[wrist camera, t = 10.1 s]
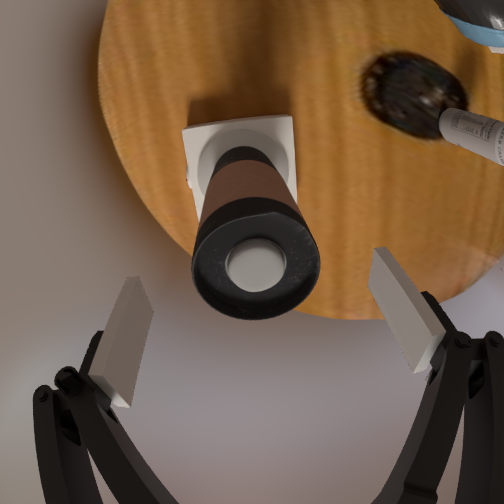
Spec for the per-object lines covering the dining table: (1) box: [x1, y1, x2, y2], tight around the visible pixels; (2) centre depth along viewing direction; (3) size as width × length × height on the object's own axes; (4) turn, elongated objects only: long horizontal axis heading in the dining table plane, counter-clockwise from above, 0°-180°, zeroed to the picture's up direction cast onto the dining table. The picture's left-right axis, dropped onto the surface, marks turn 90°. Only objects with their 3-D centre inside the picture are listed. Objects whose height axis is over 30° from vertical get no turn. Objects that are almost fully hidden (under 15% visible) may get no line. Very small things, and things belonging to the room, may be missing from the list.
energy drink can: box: [439, 108, 504, 166], centre depth 27 cm, size 6×6×15 cm
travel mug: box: [191, 146, 320, 320], centre depth 24 cm, size 8×8×20 cm
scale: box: [182, 114, 297, 222], centre depth 35 cm, size 13×14×5 cm
